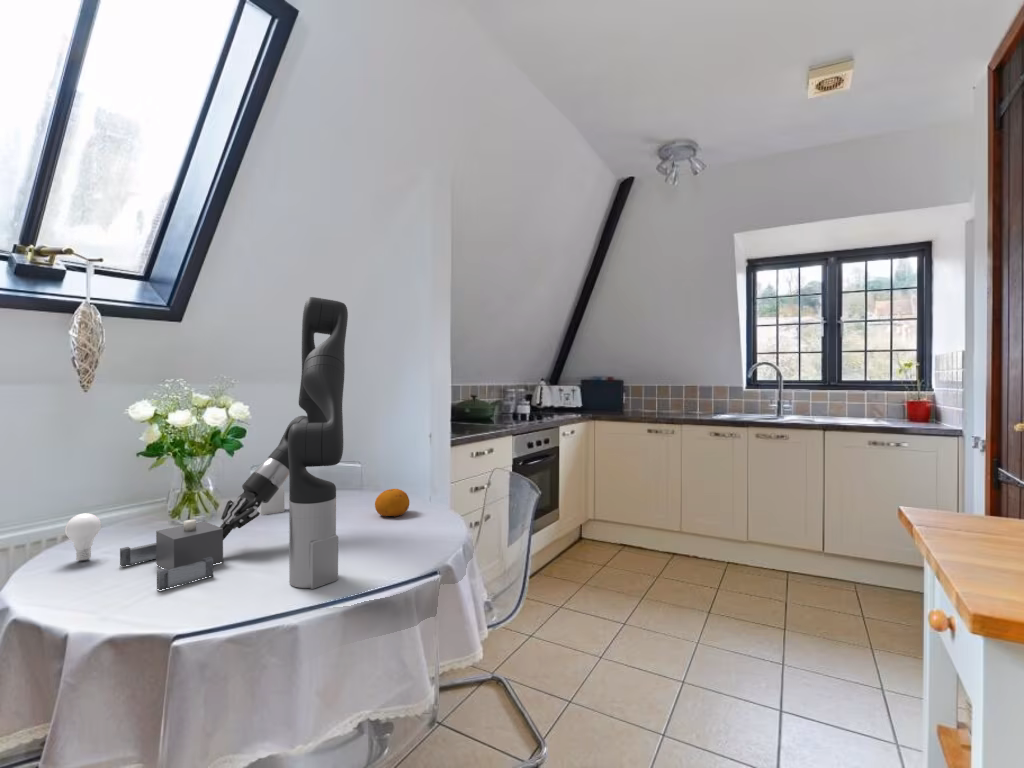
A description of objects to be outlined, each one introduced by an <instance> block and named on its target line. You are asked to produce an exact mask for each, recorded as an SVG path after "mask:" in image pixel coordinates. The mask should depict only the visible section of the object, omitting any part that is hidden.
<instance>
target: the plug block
mask: <svg viewBox="0 0 1024 768" xmlns="http://www.w3.org/2000/svg"><path fill="white" fill-rule="evenodd" d="M155 532H156V533H155V534H156V535H155V536H156V537H155V539H156V540H155V543H156V560H155V561H156V562H155V563H156V564H157V565H158V566H160V567H162V568H166V569H168V570H169V569H173V568H177V567H181V566H185V565H188V564H192V563H196V562H200V561H203V558H206V557H212V558H213V564H216V563H220V562H223V563H224V540H223V528H220V526H217V525H215V524H212V523H210V522H207V521H205V520H204V521H198V522H197V520H196V519H186V520H183V525H179V526H174V527H168V528H165V529H164V528H163V529H159V530H156V531H155Z"/></svg>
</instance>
